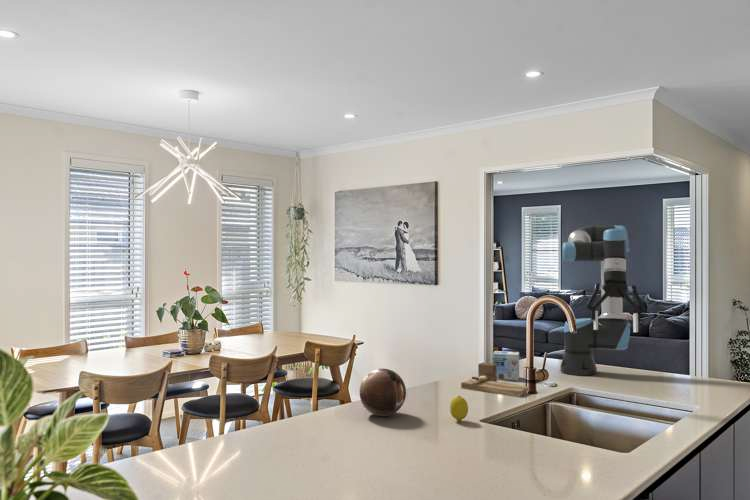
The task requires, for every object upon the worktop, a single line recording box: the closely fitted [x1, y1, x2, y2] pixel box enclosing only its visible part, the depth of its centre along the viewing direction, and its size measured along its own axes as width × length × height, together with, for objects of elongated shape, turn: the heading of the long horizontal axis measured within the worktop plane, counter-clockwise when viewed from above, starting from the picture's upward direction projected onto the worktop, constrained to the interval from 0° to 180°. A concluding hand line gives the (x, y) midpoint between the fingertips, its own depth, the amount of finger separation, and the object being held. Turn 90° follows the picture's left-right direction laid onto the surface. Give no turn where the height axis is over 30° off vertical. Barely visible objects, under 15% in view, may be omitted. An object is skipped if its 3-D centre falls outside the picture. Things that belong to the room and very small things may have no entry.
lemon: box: [449, 395, 469, 422], centre depth 183 cm, size 6×6×8 cm
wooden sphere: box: [359, 368, 407, 417], centre depth 190 cm, size 15×15×15 cm
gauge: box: [471, 362, 498, 384], centre depth 231 cm, size 14×6×8 cm, turn 142°
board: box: [460, 378, 528, 398], centre depth 225 cm, size 10×24×2 cm, turn 52°
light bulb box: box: [492, 350, 520, 381], centre depth 246 cm, size 11×7×11 cm, turn 73°
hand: (615, 331), depth 207 cm, fingers open, 13 cm apart
